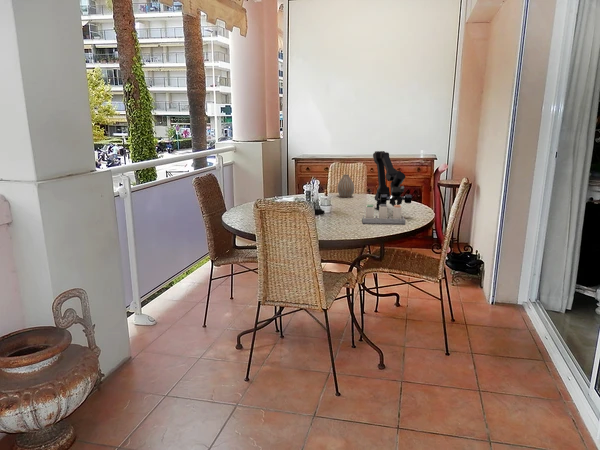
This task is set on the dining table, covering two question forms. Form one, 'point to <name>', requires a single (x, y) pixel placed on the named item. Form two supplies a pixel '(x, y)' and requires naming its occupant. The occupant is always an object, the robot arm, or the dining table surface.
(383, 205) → the key
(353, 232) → the dining table surface
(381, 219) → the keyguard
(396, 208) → the key
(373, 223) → the key mat
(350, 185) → the vase
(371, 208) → the key
